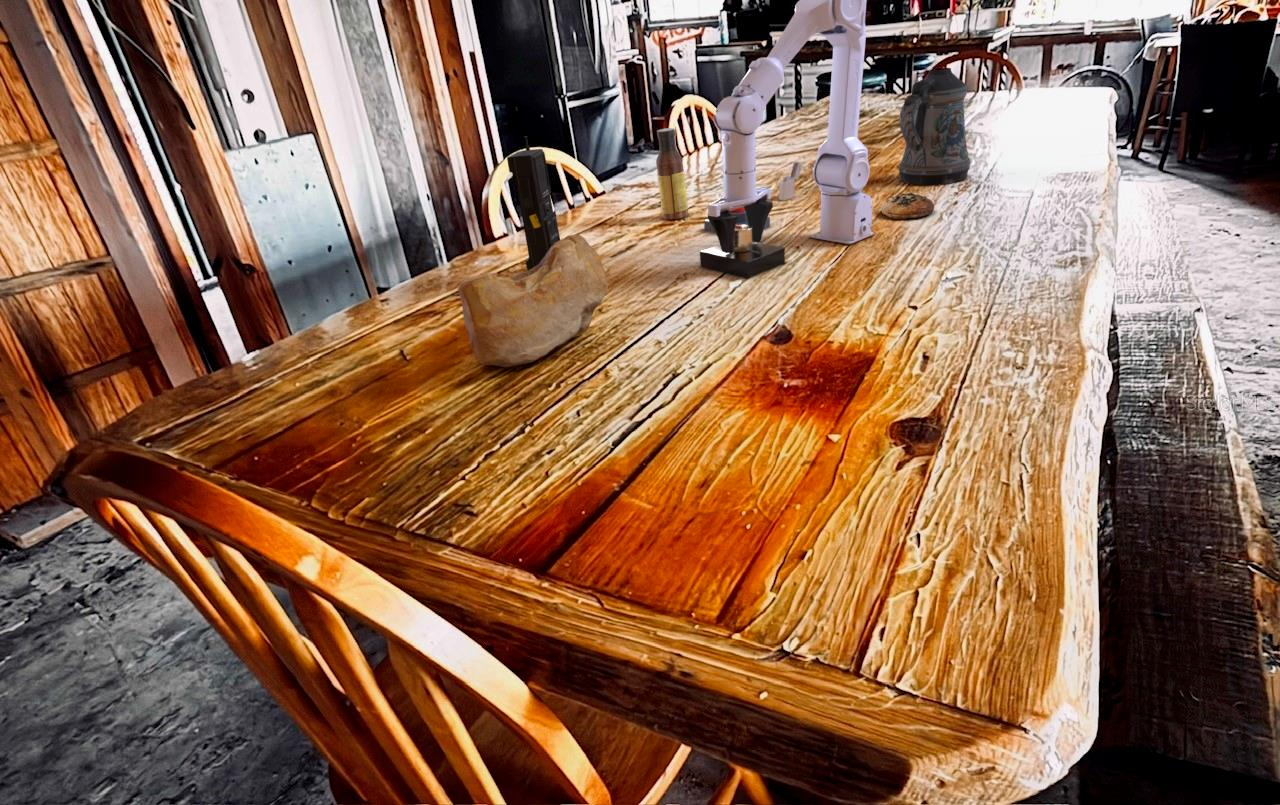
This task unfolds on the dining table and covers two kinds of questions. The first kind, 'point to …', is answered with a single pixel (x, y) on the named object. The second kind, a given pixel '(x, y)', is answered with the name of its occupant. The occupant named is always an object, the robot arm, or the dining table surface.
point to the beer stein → (934, 131)
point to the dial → (743, 238)
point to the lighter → (789, 182)
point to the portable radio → (534, 202)
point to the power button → (738, 210)
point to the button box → (740, 221)
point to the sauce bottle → (671, 177)
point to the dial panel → (743, 259)
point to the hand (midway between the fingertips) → (741, 246)
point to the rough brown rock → (534, 305)
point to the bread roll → (907, 206)
